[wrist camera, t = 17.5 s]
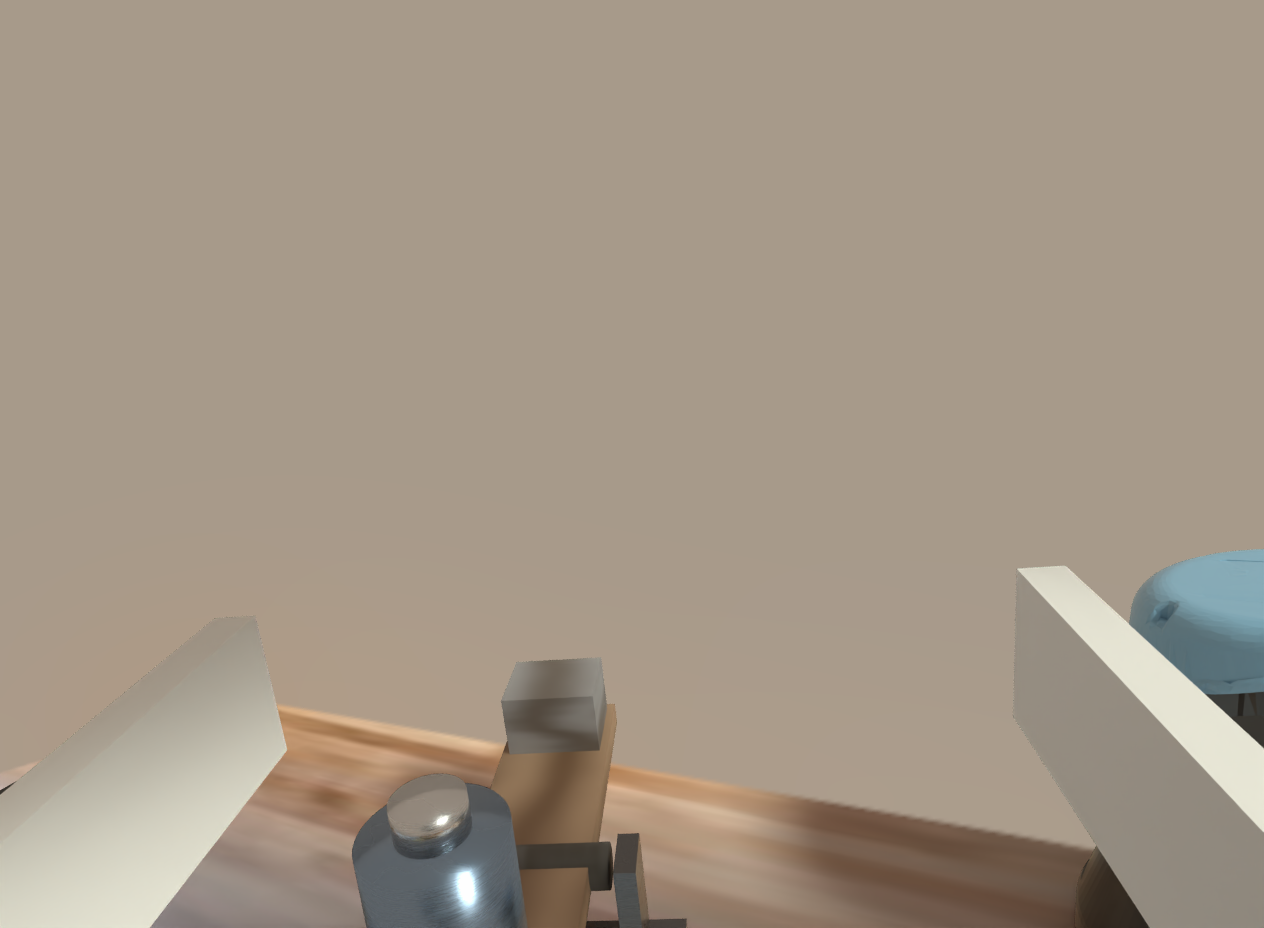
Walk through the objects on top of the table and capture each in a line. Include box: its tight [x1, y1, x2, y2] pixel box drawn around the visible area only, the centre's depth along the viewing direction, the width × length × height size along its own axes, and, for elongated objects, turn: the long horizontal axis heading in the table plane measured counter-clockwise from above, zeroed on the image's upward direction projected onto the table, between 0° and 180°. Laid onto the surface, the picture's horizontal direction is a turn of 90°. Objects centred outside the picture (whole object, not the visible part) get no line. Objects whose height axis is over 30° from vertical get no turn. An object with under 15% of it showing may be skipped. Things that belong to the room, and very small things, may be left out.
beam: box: [490, 658, 617, 928], centre depth 46 cm, size 9×30×6 cm, turn 176°
